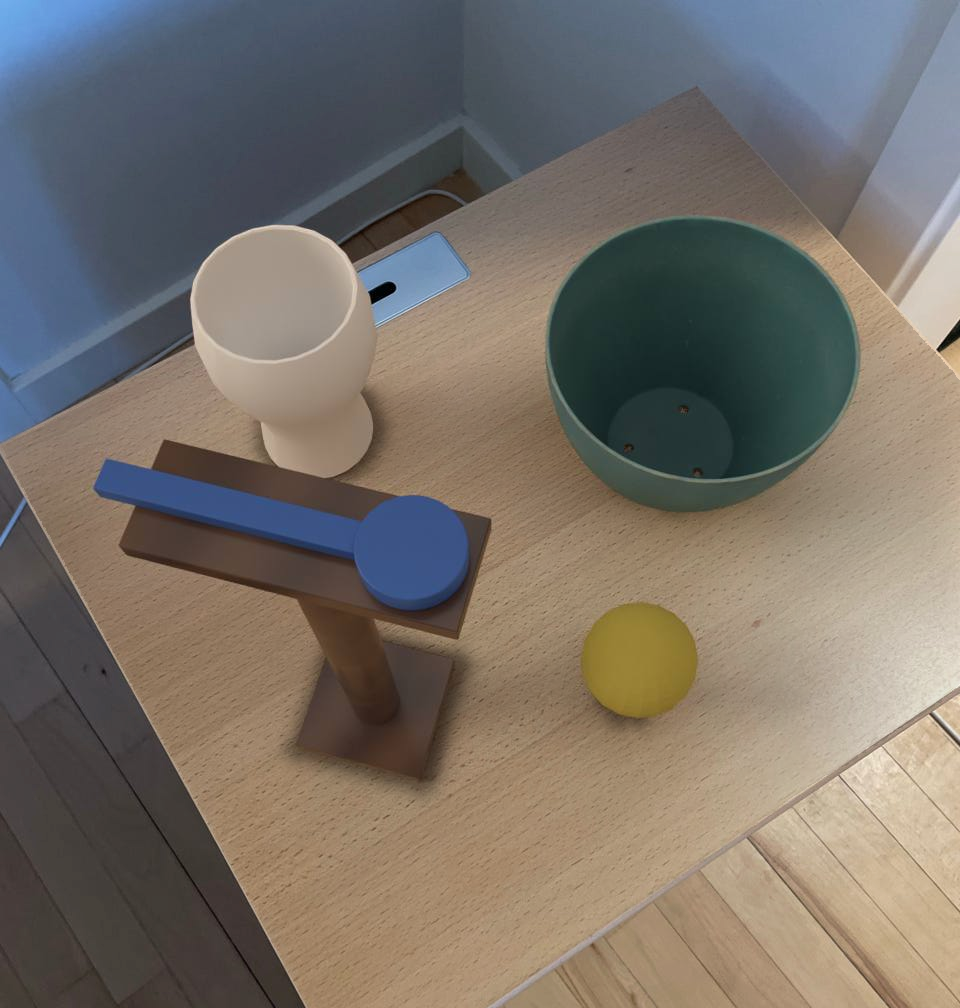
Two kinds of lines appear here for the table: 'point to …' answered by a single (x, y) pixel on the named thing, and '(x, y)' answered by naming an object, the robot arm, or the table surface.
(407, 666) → the spoon stand
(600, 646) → the yellow ball
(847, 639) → the table surface
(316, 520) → the spoon
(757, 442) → the plant pot
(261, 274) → the cup
